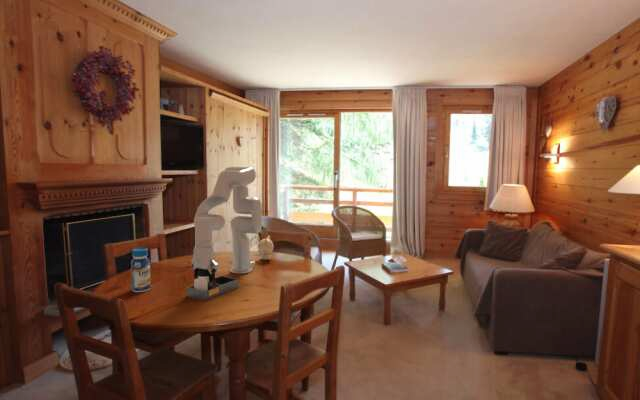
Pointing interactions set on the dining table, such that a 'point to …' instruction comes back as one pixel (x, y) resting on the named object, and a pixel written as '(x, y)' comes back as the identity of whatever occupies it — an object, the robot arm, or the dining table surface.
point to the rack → (221, 287)
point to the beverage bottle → (140, 270)
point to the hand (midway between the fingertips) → (204, 279)
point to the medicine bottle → (203, 281)
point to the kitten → (265, 248)
